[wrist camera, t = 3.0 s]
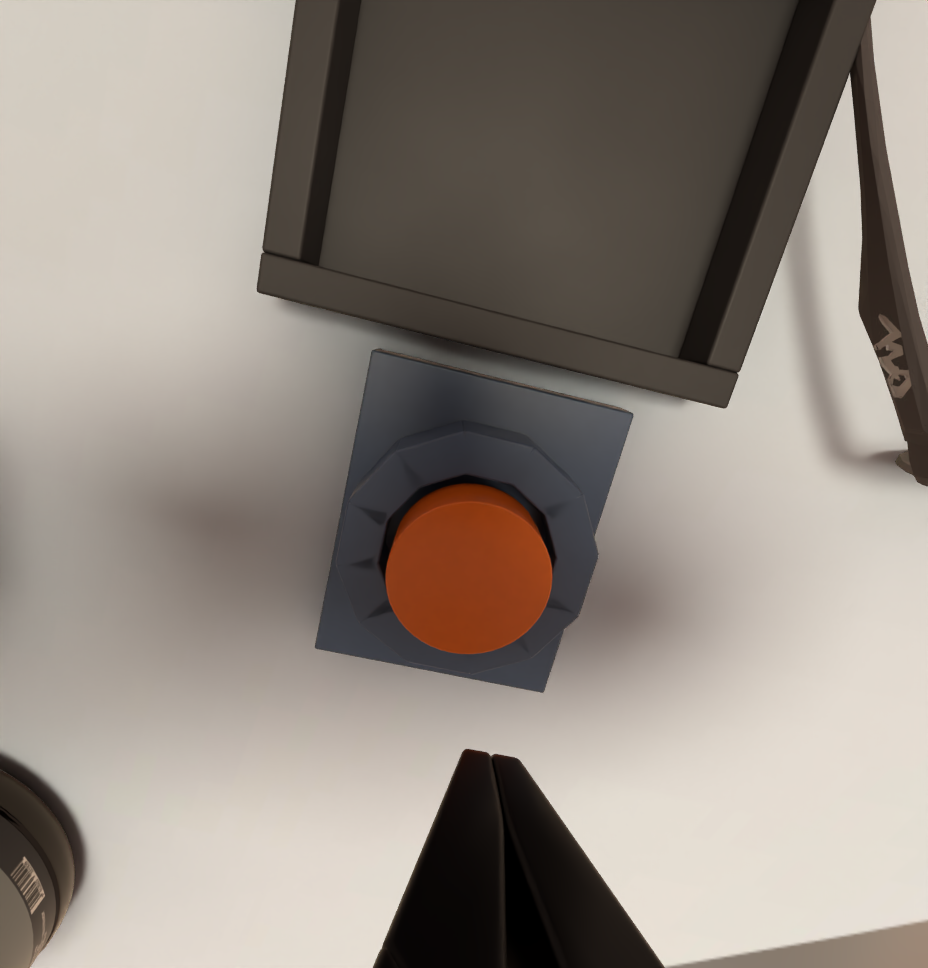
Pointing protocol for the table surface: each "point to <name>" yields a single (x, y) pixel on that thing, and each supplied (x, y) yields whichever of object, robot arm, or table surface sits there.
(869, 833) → the table surface
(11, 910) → the supplement container
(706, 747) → the table surface
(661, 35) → the holder
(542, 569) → the test button
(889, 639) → the table surface
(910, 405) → the sunglasses
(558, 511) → the box
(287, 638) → the table surface
